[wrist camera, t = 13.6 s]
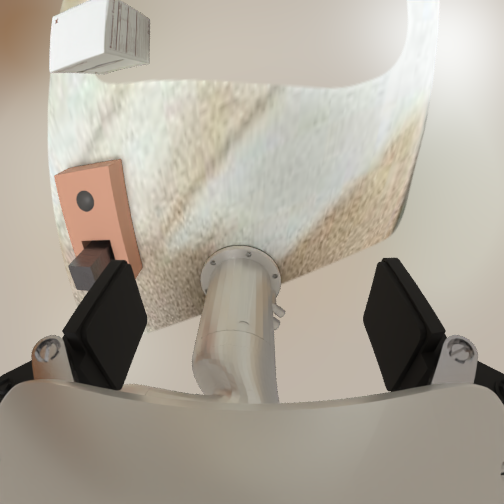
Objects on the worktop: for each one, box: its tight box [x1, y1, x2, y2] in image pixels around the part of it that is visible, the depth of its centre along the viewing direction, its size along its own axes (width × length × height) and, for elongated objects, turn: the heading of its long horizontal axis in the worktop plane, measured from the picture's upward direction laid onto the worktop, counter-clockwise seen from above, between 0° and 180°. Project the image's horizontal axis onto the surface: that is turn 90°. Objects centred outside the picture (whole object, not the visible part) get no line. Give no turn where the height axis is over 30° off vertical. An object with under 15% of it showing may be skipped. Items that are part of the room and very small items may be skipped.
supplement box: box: [49, 0, 150, 74], centre depth 21 cm, size 7×7×13 cm
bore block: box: [54, 159, 142, 279], centre depth 38 cm, size 18×10×4 cm, turn 1°
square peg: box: [68, 240, 115, 291], centre depth 38 cm, size 4×4×10 cm
